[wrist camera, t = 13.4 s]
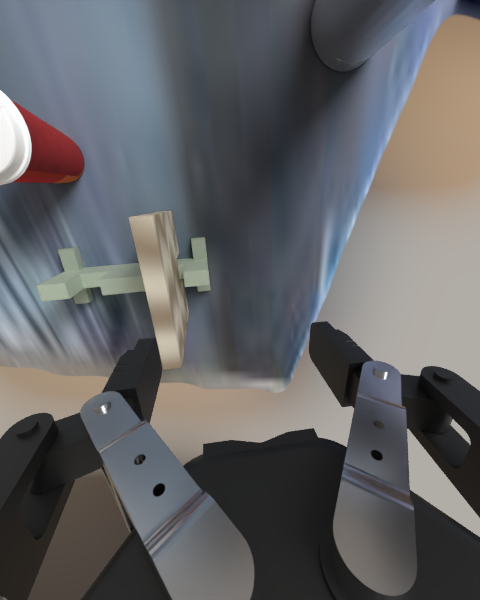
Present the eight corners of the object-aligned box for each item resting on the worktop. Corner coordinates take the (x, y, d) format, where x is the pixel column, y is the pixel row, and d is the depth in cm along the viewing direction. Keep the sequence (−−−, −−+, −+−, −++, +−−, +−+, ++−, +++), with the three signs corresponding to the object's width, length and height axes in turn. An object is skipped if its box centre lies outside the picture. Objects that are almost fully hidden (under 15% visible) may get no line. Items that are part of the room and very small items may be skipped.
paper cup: (50, 106, 29) (-69, 31, 17) (106, 161, 32) (41, 133, 19) (12, 157, 31) (-127, 123, 18) (69, 205, 33) (-15, 206, 20)
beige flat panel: (157, 211, 35) (128, 217, 21) (172, 210, 35) (152, 215, 22) (176, 313, 41) (163, 369, 27) (188, 312, 41) (181, 367, 28)
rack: (63, 248, 35) (26, 260, 28) (204, 237, 37) (205, 245, 30) (80, 300, 38) (50, 323, 31) (210, 287, 40) (212, 306, 33)
